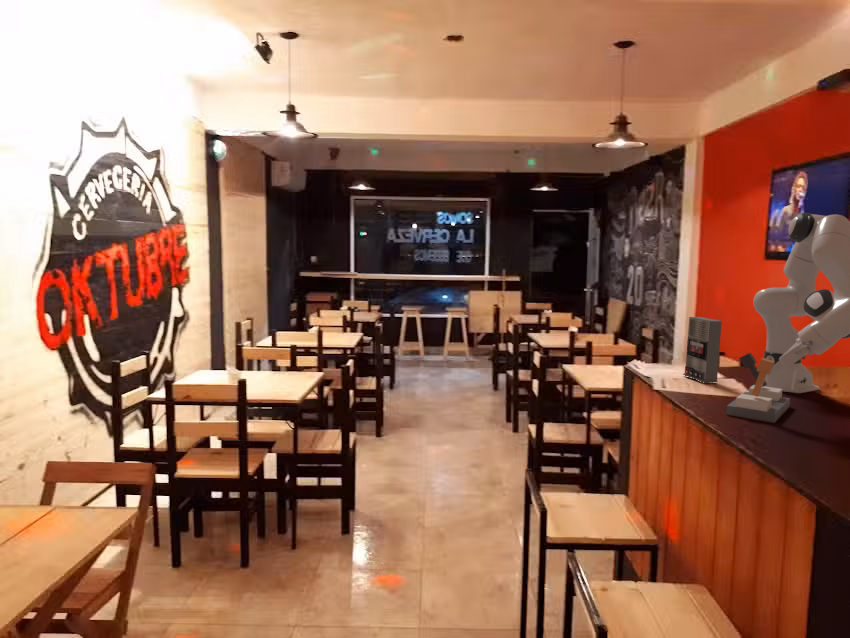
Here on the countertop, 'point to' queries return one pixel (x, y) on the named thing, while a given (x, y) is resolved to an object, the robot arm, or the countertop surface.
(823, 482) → the countertop surface
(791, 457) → the countertop surface
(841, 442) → the countertop surface
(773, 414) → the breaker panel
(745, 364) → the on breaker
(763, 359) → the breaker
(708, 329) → the cassette tape recorder
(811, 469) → the countertop surface
